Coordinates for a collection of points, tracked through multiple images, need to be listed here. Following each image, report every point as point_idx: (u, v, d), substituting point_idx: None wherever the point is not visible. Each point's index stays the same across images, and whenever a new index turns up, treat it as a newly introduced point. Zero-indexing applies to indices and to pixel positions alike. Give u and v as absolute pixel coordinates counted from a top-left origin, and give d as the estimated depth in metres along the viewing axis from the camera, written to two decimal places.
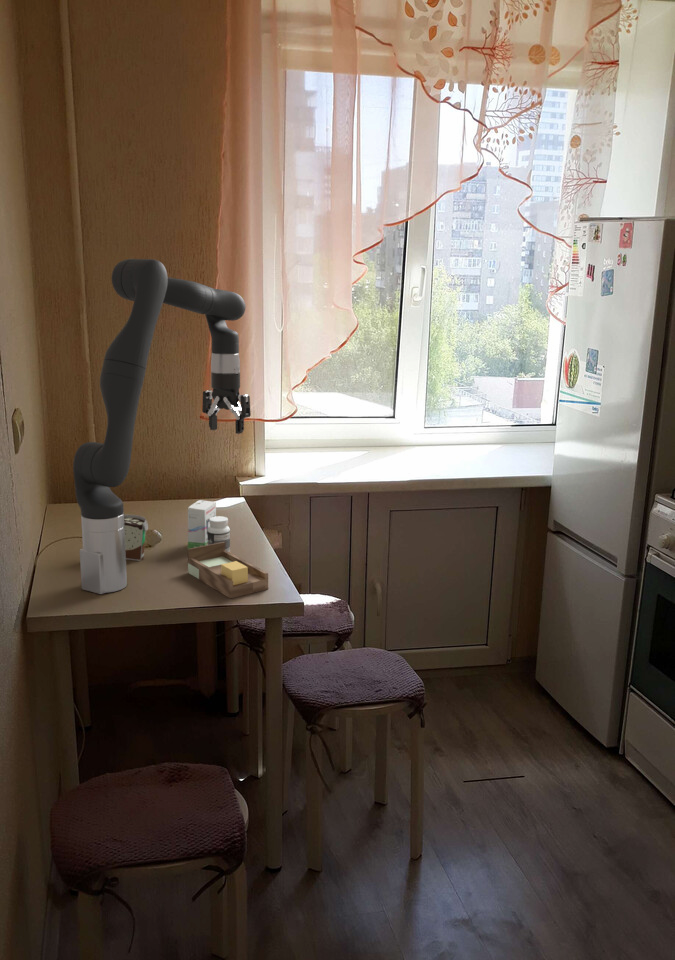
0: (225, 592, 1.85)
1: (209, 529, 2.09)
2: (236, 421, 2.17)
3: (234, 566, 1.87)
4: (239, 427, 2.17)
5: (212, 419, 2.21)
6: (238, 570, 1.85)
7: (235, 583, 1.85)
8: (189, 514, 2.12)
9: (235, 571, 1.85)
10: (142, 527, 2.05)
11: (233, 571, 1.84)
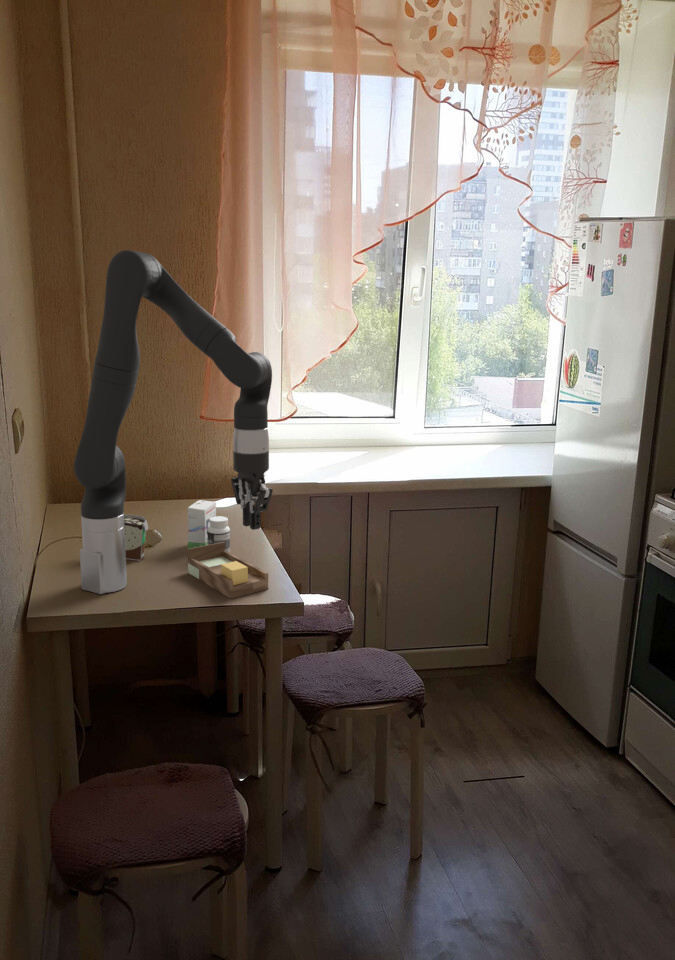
0: (225, 592, 1.85)
1: (209, 529, 2.09)
2: None
3: (234, 566, 1.87)
4: None
5: None
6: (238, 570, 1.85)
7: (235, 583, 1.85)
8: (189, 514, 2.12)
9: (235, 571, 1.85)
10: (142, 527, 2.05)
11: (233, 571, 1.84)
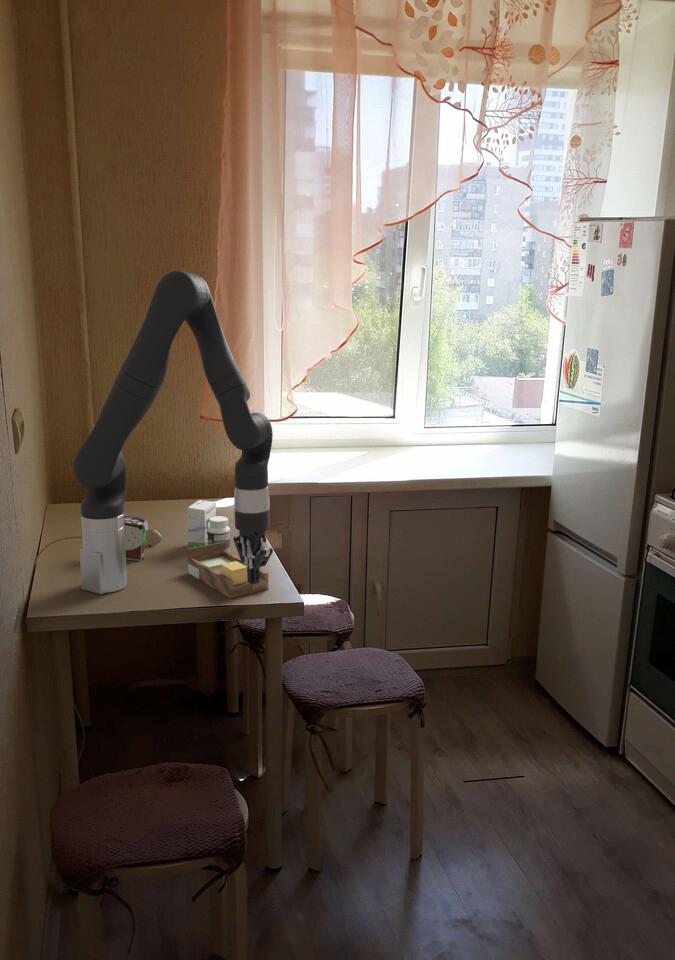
0: (225, 592, 1.85)
1: (209, 529, 2.09)
2: None
3: (234, 566, 1.87)
4: None
5: None
6: (238, 570, 1.85)
7: (235, 583, 1.85)
8: (189, 514, 2.12)
9: (235, 571, 1.85)
10: (142, 527, 2.05)
11: (233, 571, 1.84)
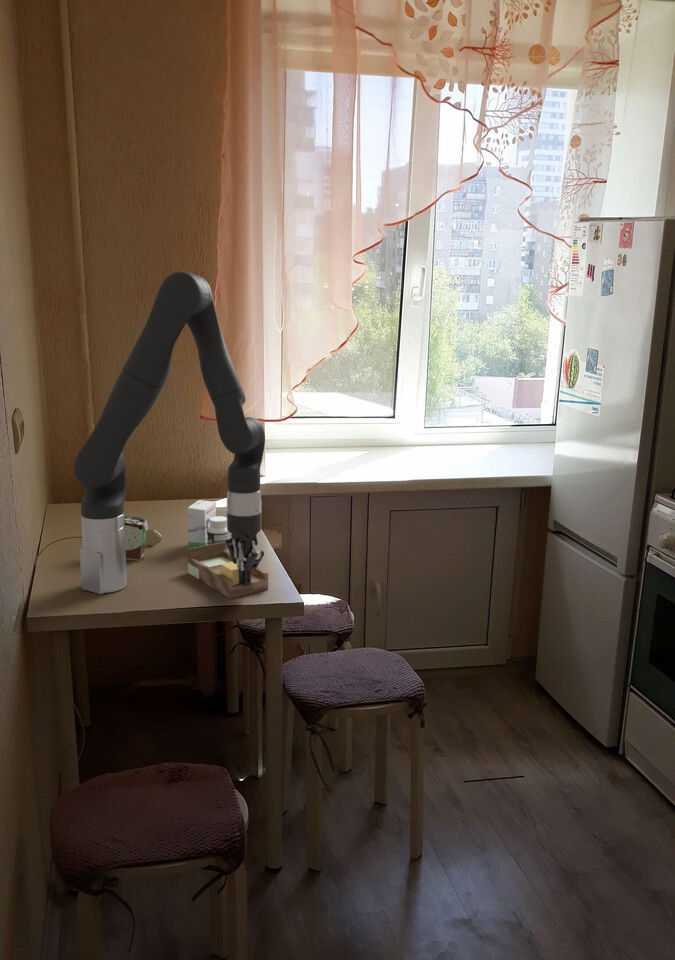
0: (225, 592, 1.85)
1: (209, 529, 2.09)
2: None
3: (234, 565, 1.87)
4: None
5: None
6: (238, 570, 1.85)
7: (235, 583, 1.85)
8: (189, 514, 2.12)
9: (235, 571, 1.85)
10: (142, 527, 2.05)
11: (233, 571, 1.84)
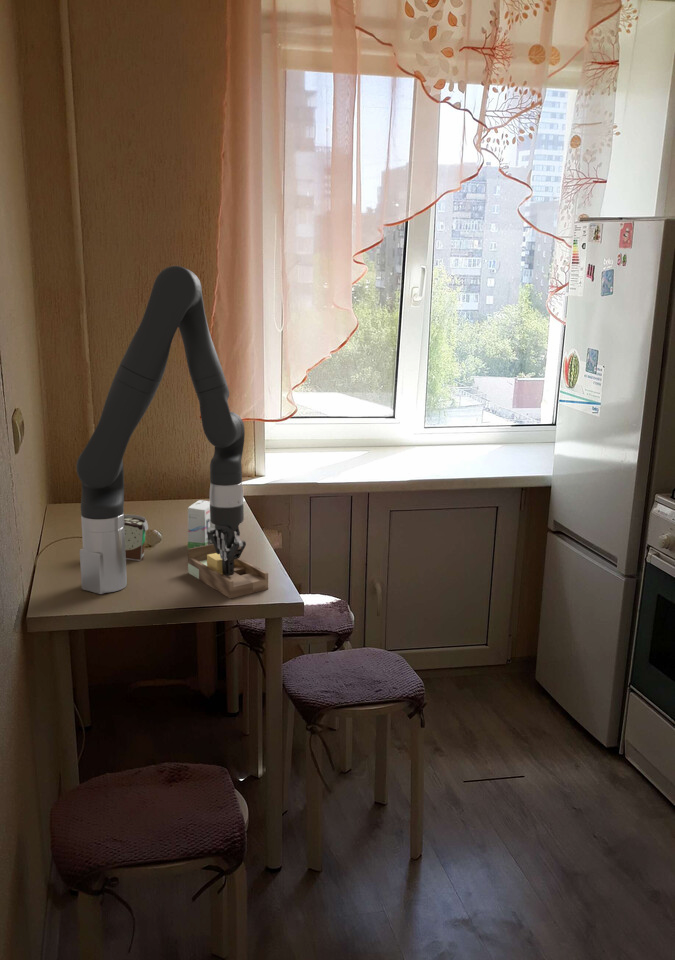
0: (225, 592, 1.85)
1: (209, 529, 2.09)
2: None
3: (219, 556, 1.93)
4: None
5: None
6: None
7: (220, 573, 1.91)
8: (189, 514, 2.12)
9: (220, 561, 1.91)
10: (142, 527, 2.05)
11: (218, 561, 1.91)
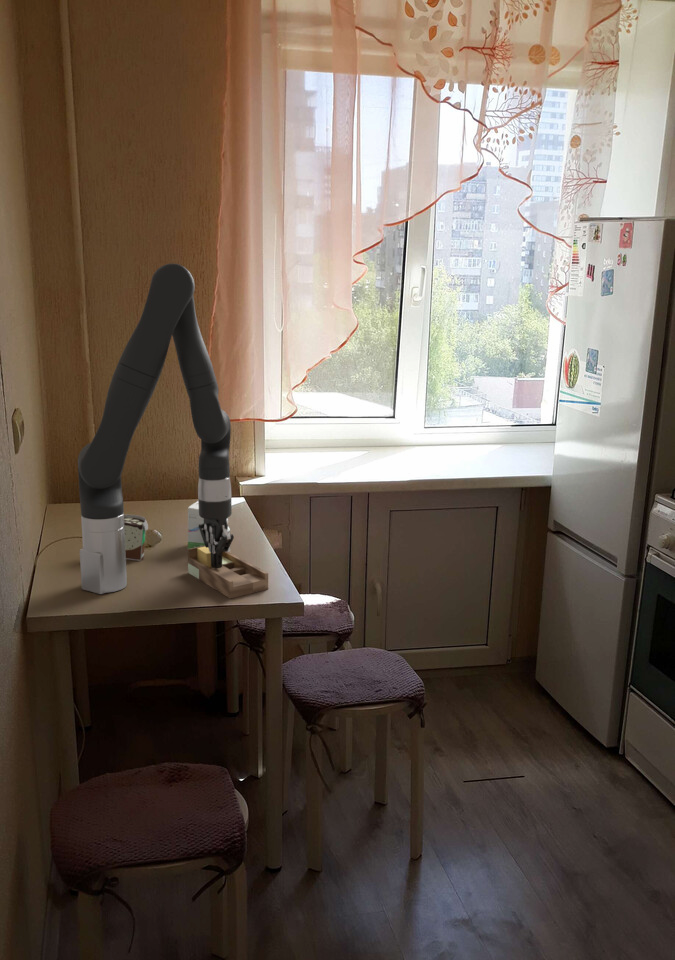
0: (225, 592, 1.85)
1: None
2: None
3: None
4: None
5: None
6: None
7: (209, 566, 1.96)
8: (189, 514, 2.12)
9: (209, 554, 1.95)
10: (142, 527, 2.05)
11: (207, 554, 1.95)
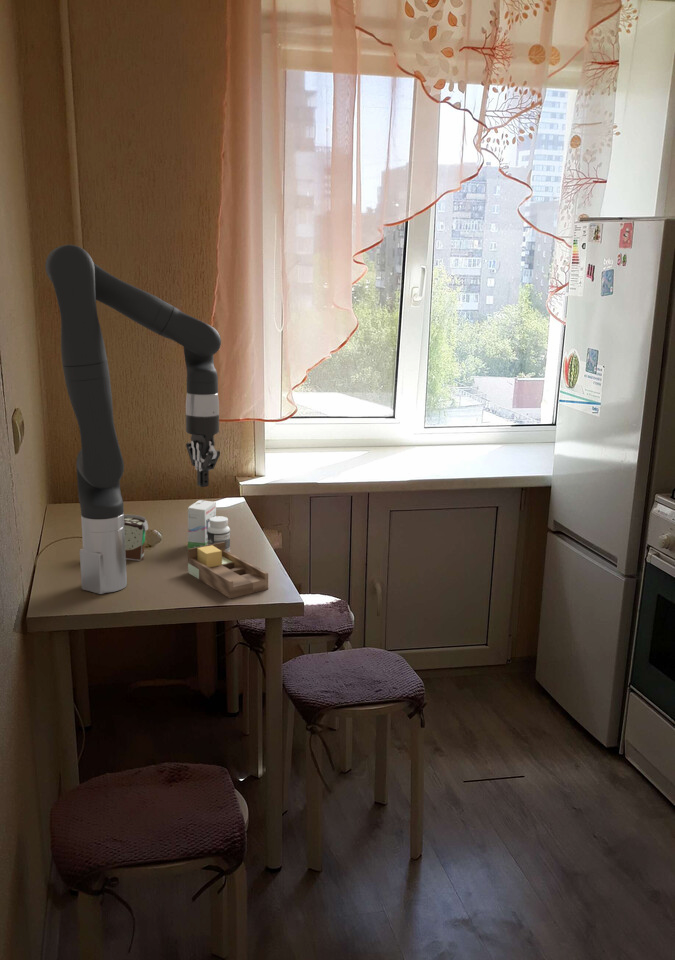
0: (225, 592, 1.85)
1: (209, 529, 2.09)
2: None
3: (209, 549, 1.98)
4: None
5: None
6: (212, 553, 1.96)
7: (209, 566, 1.96)
8: (189, 514, 2.12)
9: (209, 554, 1.95)
10: (142, 527, 2.05)
11: (207, 554, 1.95)
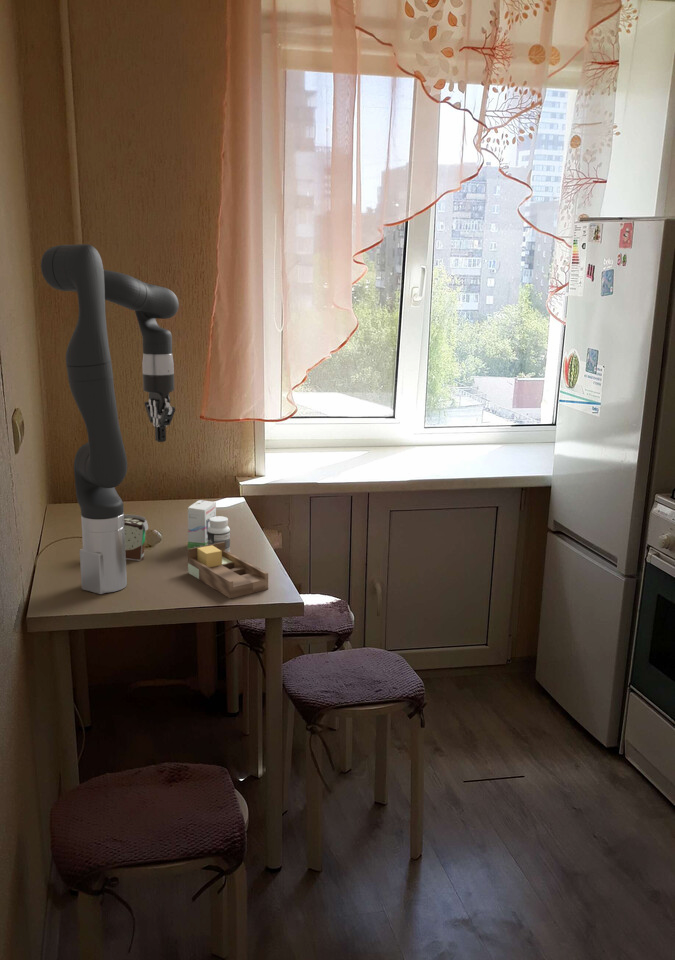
0: (225, 592, 1.85)
1: (209, 529, 2.09)
2: None
3: (209, 549, 1.98)
4: None
5: None
6: (212, 553, 1.96)
7: (209, 566, 1.96)
8: (189, 514, 2.12)
9: (209, 554, 1.95)
10: (142, 527, 2.05)
11: (207, 554, 1.95)
